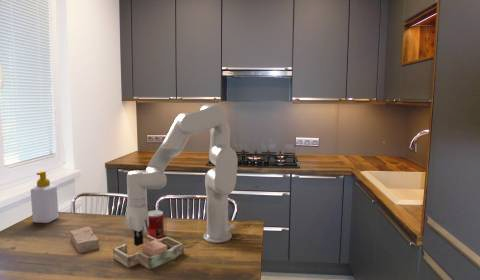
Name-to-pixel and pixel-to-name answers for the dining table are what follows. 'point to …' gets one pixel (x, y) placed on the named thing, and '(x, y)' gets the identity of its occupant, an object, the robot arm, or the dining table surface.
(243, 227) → the dining table surface
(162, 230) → the canned food
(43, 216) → the soap bottle
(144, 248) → the block
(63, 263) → the dining table surface
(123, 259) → the channel
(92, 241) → the brick
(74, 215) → the dining table surface
